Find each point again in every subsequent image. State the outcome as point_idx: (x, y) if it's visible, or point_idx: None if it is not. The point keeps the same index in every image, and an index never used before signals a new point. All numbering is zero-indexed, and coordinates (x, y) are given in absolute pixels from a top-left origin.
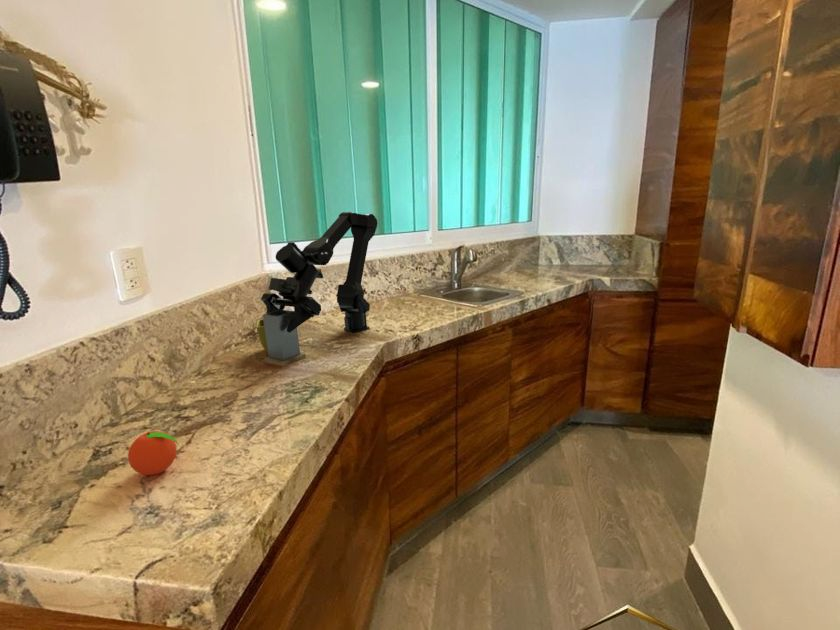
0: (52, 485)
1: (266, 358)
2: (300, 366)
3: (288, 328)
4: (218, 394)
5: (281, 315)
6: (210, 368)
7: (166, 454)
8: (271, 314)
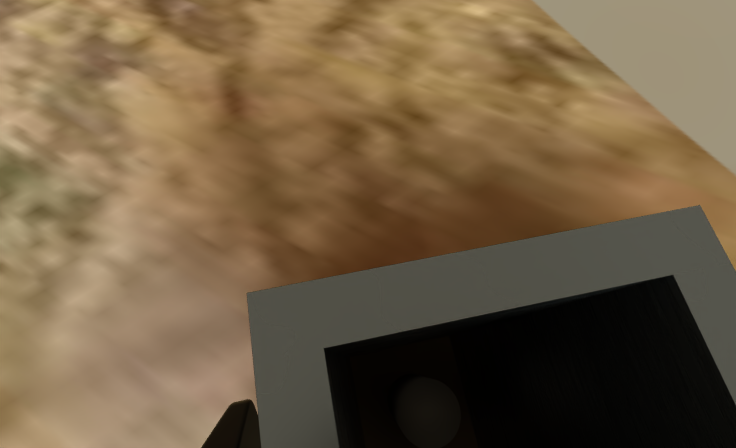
0: None
1: None
2: (219, 390)
3: (219, 424)
4: (268, 14)
5: (260, 409)
6: (589, 97)
7: None
8: (699, 397)
